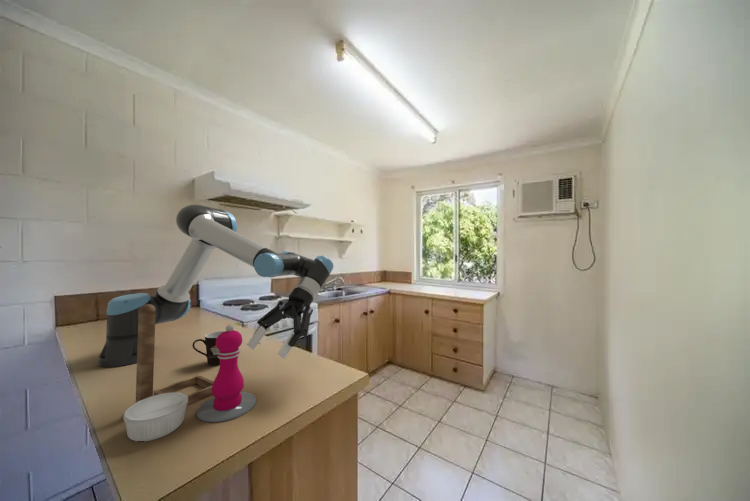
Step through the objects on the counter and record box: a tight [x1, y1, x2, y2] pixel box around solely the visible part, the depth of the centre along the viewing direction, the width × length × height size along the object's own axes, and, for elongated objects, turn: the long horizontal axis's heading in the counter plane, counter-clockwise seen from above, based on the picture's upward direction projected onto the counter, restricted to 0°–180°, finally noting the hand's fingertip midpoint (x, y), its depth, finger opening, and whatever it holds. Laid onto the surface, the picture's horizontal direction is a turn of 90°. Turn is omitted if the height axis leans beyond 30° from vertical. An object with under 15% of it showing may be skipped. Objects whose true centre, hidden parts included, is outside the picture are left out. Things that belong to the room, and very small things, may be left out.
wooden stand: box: [135, 304, 214, 406], centre depth 72 cm, size 18×12×26 cm, turn 150°
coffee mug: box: [191, 330, 226, 367], centre depth 97 cm, size 12×9×10 cm
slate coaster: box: [196, 391, 257, 423], centre depth 68 cm, size 13×13×1 cm
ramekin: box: [122, 391, 188, 442], centre depth 60 cm, size 11×11×5 cm
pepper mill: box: [212, 324, 245, 411], centre depth 69 cm, size 7×7×20 cm
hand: (264, 351), depth 78 cm, fingers open, 13 cm apart
